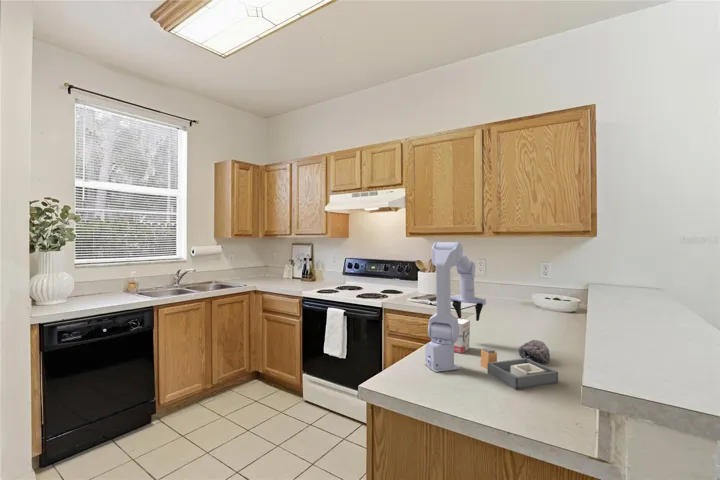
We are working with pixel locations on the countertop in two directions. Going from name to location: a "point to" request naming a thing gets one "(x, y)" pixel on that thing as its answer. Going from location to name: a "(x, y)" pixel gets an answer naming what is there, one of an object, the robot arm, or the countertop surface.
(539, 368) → the walled box
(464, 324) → the ink box
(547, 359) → the pumice stone
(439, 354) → the robot arm
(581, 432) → the countertop surface
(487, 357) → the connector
